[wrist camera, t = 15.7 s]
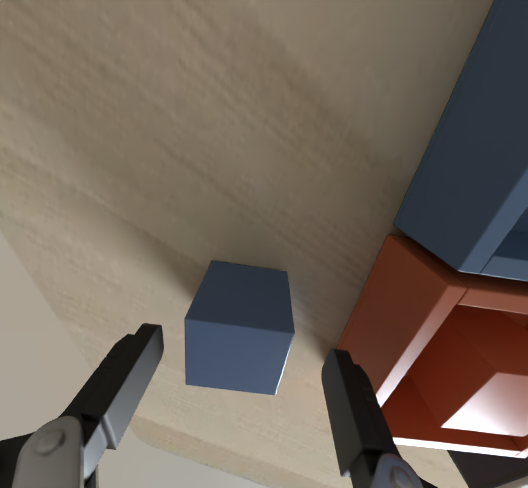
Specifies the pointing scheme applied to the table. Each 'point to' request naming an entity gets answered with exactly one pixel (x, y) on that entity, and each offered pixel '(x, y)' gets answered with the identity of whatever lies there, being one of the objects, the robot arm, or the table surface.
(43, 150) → the table surface
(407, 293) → the terracotta bin
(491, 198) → the blue bin
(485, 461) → the calculator
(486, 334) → the terracotta block
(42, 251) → the table surface
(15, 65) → the table surface
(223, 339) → the blue block
